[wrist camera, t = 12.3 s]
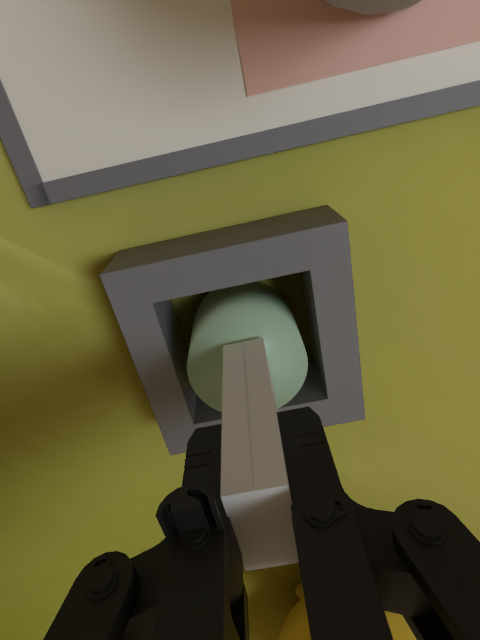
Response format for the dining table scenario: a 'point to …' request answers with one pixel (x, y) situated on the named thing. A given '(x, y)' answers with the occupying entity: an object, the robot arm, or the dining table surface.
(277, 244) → the button housing
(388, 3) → the can
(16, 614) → the dining table surface
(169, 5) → the picture sheet
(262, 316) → the button
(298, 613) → the teapot
